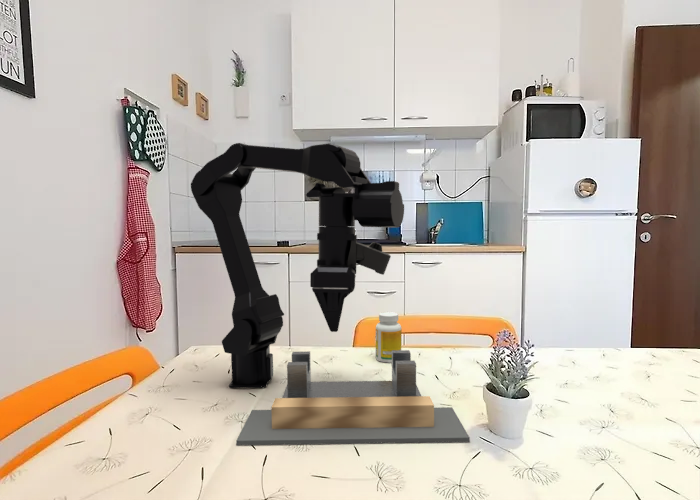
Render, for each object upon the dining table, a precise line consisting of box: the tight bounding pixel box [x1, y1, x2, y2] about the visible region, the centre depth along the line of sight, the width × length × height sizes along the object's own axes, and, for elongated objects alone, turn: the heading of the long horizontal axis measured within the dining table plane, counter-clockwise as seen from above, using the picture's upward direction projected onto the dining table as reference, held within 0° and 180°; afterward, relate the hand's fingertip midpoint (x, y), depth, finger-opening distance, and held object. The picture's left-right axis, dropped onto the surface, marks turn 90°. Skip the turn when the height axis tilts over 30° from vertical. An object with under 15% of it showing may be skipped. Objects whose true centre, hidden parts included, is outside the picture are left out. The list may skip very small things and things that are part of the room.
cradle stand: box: [281, 349, 422, 398], centre depth 69 cm, size 22×8×6 cm, turn 91°
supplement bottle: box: [375, 311, 402, 364], centre depth 88 cm, size 5×5×10 cm
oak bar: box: [271, 395, 435, 429], centre depth 58 cm, size 22×3×3 cm, turn 91°
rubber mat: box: [235, 406, 471, 446], centre depth 58 cm, size 30×9×1 cm, turn 91°
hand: (335, 324), depth 67 cm, fingers open, 9 cm apart
